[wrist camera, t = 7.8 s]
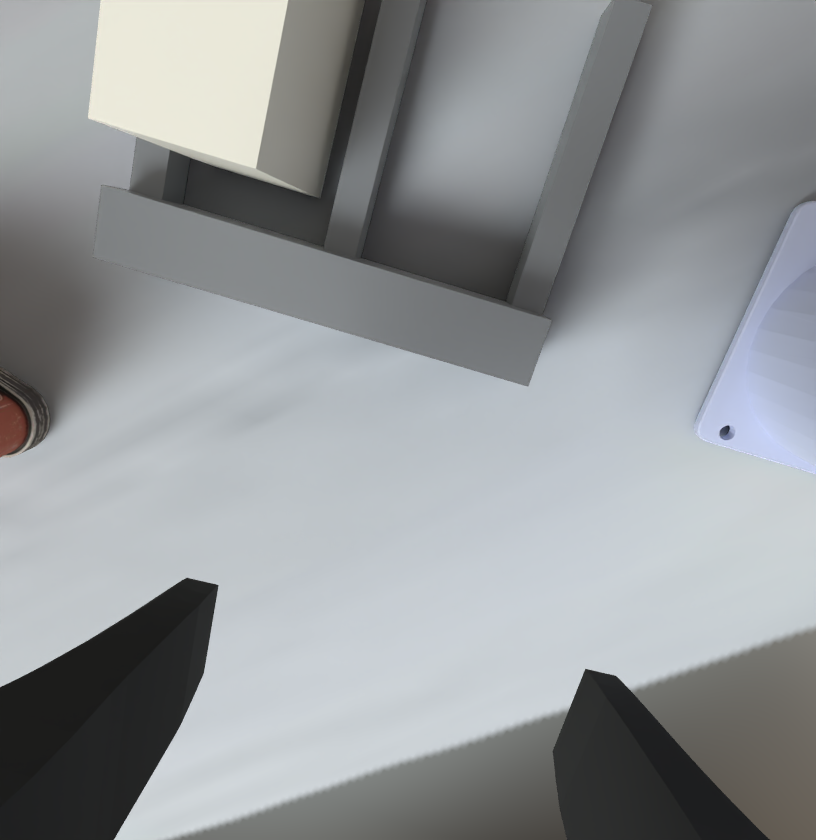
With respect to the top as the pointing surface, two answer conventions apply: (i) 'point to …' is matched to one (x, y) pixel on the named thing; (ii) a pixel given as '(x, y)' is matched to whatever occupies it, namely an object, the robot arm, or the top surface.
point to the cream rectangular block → (229, 81)
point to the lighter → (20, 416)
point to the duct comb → (356, 194)
